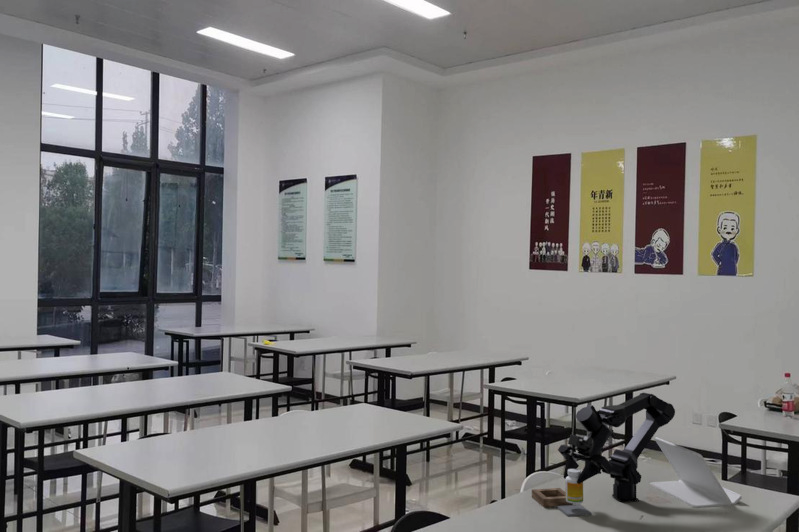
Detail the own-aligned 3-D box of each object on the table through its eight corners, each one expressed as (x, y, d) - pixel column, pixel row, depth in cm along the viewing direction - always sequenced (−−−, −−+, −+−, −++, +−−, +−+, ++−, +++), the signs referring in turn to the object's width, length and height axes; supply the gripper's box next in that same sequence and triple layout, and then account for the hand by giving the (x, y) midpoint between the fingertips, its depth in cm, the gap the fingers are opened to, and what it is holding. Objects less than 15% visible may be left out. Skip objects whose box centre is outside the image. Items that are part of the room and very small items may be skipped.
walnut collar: (559, 495, 224) (559, 487, 224) (572, 505, 214) (572, 497, 214) (531, 497, 222) (531, 489, 222) (543, 507, 213) (543, 499, 213)
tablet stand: (694, 508, 213) (694, 455, 213) (648, 484, 237) (648, 436, 237) (743, 504, 217) (743, 452, 217) (693, 481, 241) (693, 434, 241)
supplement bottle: (586, 503, 207) (586, 472, 207) (570, 504, 206) (570, 473, 206) (578, 497, 213) (577, 467, 213) (562, 499, 211) (562, 468, 211)
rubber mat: (580, 506, 214) (580, 504, 214) (591, 514, 206) (591, 512, 206) (556, 507, 212) (556, 505, 212) (567, 516, 204) (567, 514, 204)
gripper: (561, 419, 220) (536, 458, 214) (605, 430, 204) (579, 472, 198) (579, 440, 224) (555, 478, 218) (623, 453, 207) (598, 494, 202)
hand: (571, 480), depth 209 cm, fingers closed on supplement bottle, 5 cm apart
